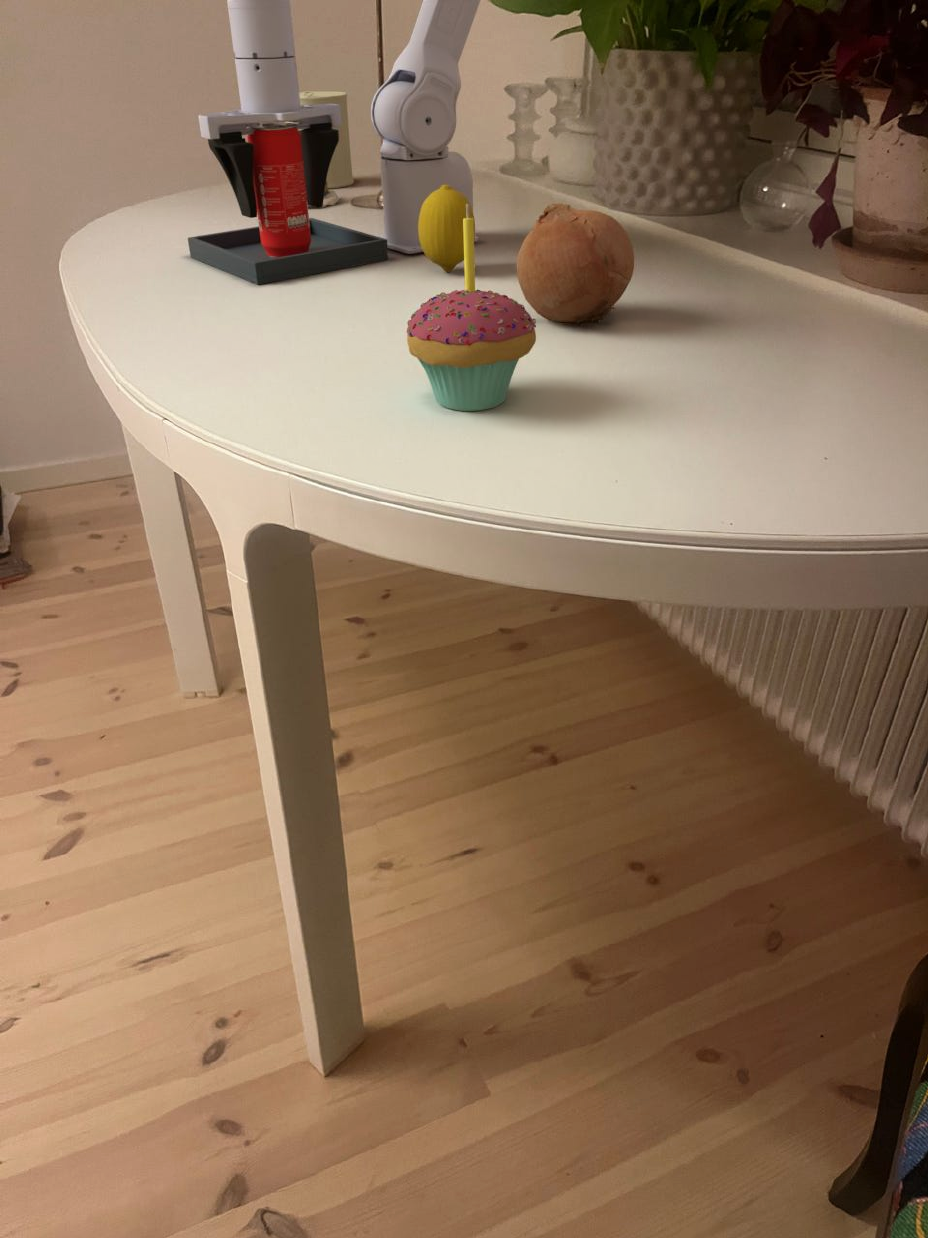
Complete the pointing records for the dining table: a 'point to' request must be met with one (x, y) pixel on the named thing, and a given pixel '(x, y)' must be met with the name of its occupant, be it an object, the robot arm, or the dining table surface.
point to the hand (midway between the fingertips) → (283, 210)
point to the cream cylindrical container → (341, 157)
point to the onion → (574, 264)
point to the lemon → (444, 227)
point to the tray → (251, 262)
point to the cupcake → (470, 340)
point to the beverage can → (280, 189)
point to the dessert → (329, 196)
